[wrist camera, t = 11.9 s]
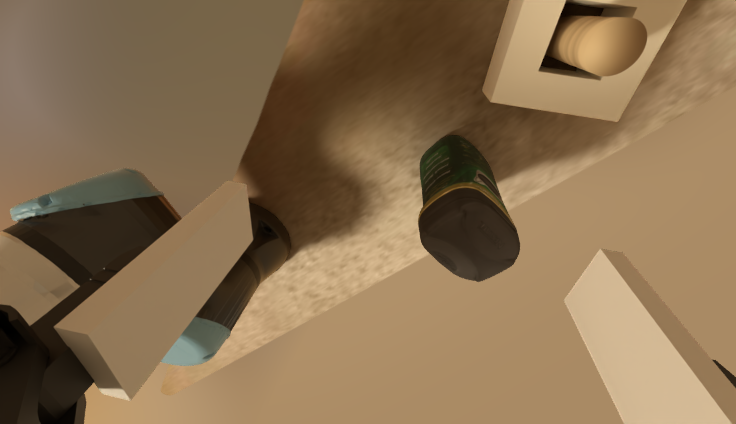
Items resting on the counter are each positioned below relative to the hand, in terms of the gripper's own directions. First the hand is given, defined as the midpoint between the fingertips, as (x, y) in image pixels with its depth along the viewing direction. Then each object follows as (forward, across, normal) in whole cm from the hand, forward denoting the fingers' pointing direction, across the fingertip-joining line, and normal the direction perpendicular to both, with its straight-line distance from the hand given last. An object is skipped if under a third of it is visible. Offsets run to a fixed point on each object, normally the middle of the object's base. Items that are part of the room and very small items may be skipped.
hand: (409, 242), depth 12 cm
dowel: (+32, +14, +7) cm, 35 cm away
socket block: (+32, +14, +7) cm, 35 cm away
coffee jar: (+32, +7, -10) cm, 34 cm away
